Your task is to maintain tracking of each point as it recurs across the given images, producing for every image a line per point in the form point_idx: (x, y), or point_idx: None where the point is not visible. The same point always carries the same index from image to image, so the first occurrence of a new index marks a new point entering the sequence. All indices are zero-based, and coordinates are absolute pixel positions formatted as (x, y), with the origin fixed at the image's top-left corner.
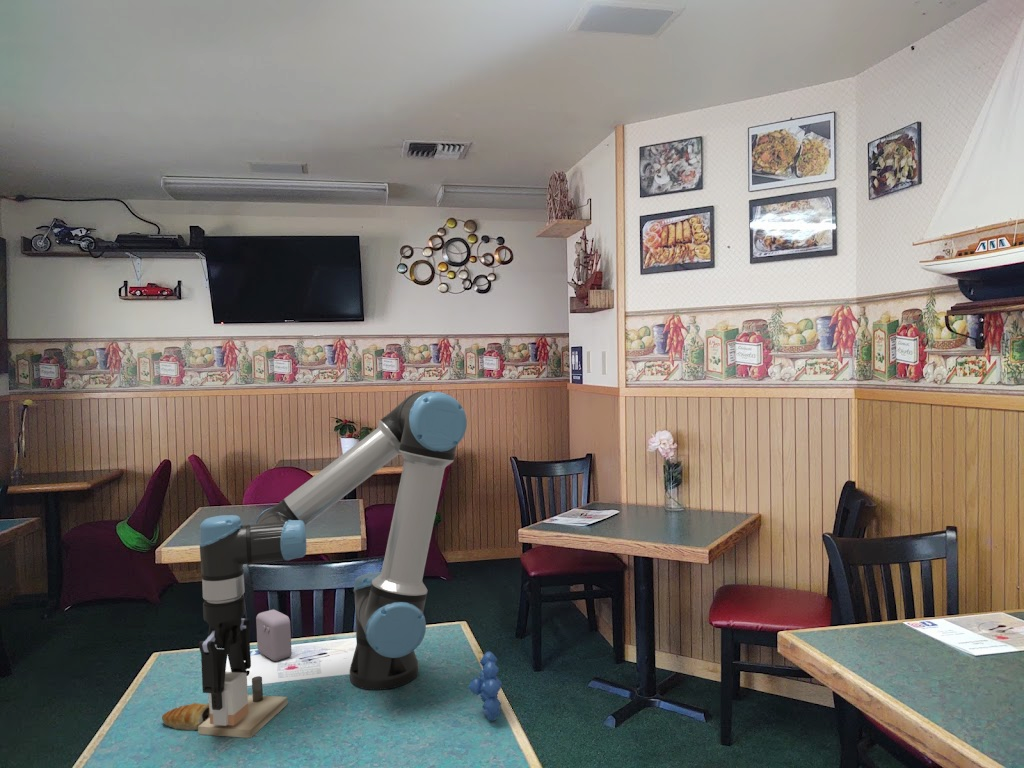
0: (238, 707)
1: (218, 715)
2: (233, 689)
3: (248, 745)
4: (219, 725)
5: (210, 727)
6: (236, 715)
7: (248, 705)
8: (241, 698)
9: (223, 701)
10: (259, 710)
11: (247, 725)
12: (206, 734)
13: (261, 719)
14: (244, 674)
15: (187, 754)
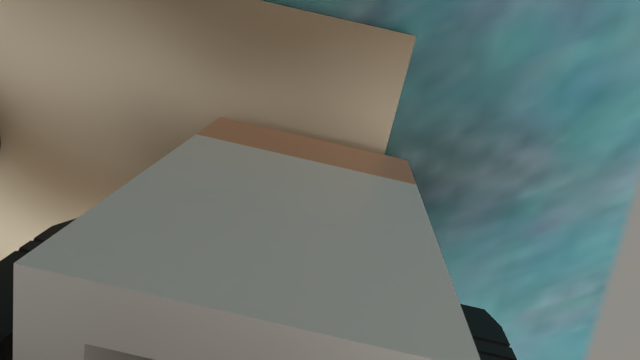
0: (337, 175)
1: None
2: (426, 294)
3: (508, 13)
4: None
5: None
6: (370, 167)
7: (52, 173)
8: (273, 182)
9: None
10: (118, 69)
11: (342, 79)
12: None
13: (255, 4)
14: (84, 277)
15: (542, 327)
